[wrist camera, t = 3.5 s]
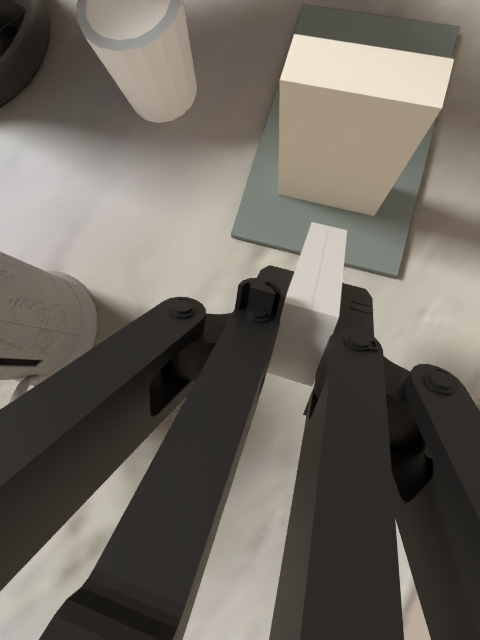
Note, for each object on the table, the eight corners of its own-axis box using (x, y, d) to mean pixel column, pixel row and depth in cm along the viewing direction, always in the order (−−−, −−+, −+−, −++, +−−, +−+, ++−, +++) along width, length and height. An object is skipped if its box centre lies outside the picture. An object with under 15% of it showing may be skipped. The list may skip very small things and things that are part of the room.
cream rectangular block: (374, 216, 24) (442, 108, 14) (278, 194, 25) (279, 79, 15) (382, 183, 24) (454, 55, 15) (287, 163, 25) (295, 31, 16)
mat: (395, 277, 24) (397, 275, 23) (231, 237, 25) (230, 234, 25) (456, 33, 26) (459, 26, 26) (302, 10, 28) (303, 4, 27)
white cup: (193, 44, 28) (166, -61, 22) (213, 114, 27) (193, 27, 20) (115, 70, 29) (65, -24, 22) (133, 140, 28) (85, 64, 21)
